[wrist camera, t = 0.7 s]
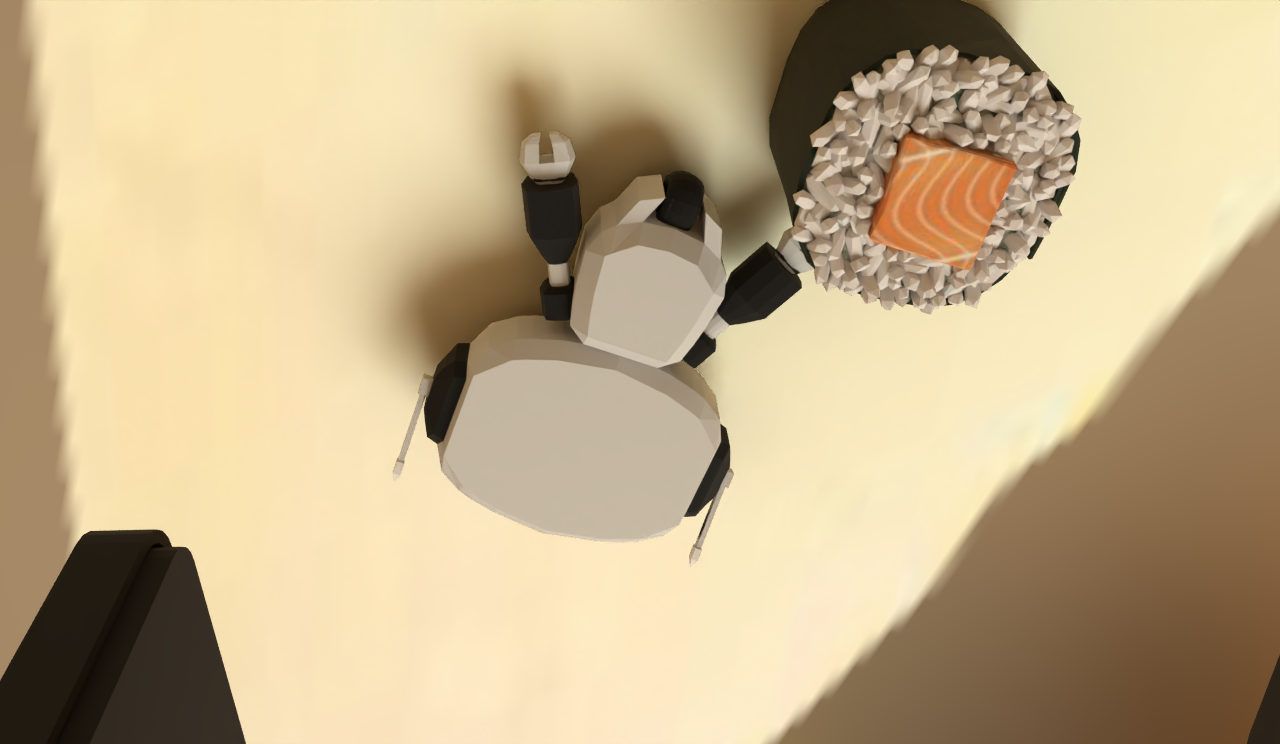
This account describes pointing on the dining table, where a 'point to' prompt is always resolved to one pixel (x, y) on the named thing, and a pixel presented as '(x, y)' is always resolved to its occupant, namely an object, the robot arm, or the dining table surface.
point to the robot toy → (604, 363)
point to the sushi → (918, 150)
